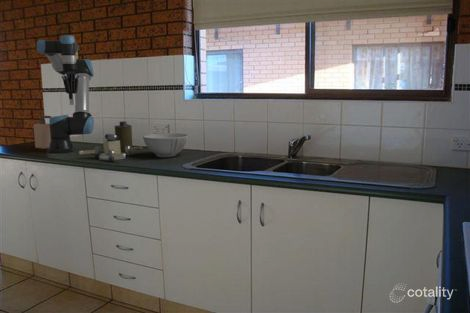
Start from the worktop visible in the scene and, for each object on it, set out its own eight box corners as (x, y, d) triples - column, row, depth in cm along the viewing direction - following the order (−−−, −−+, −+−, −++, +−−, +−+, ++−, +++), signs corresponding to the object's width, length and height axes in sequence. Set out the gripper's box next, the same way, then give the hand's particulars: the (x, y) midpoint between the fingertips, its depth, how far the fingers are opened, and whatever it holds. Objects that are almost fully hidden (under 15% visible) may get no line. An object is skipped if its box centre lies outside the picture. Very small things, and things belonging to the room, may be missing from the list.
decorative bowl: (187, 158, 243) (187, 137, 241) (140, 159, 242) (139, 138, 240) (190, 151, 269) (189, 132, 267) (147, 152, 268) (146, 133, 266)
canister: (128, 155, 258) (127, 122, 254) (112, 154, 260) (111, 122, 257) (136, 152, 268) (134, 120, 265) (121, 152, 270) (119, 120, 267)
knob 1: (107, 160, 237) (106, 150, 236) (111, 160, 240) (111, 149, 239) (123, 162, 232) (122, 151, 231) (127, 161, 235) (126, 150, 234)
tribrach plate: (94, 158, 248) (92, 134, 246) (118, 155, 258) (116, 132, 256) (106, 161, 237) (105, 136, 235) (130, 158, 247) (129, 134, 245)
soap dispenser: (35, 147, 294) (32, 115, 290) (46, 146, 301) (43, 115, 298) (47, 148, 288) (44, 116, 284) (58, 147, 295) (55, 115, 291)
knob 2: (126, 156, 252) (126, 146, 251) (124, 155, 255) (123, 145, 254) (144, 153, 260) (143, 144, 259) (141, 153, 263) (140, 143, 262)
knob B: (100, 156, 253) (99, 146, 252) (100, 157, 250) (100, 147, 249) (79, 158, 248) (78, 148, 246) (79, 159, 245) (79, 148, 244)
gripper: (70, 63, 250) (74, 103, 254) (56, 63, 237) (59, 105, 242) (82, 63, 248) (85, 104, 252) (67, 63, 235) (71, 105, 240)
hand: (72, 104), depth 247 cm, fingers closed
